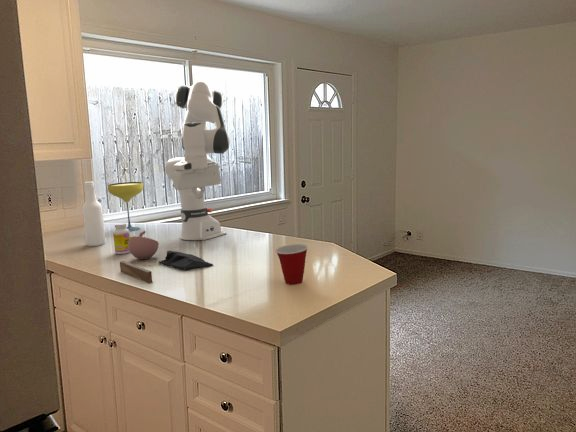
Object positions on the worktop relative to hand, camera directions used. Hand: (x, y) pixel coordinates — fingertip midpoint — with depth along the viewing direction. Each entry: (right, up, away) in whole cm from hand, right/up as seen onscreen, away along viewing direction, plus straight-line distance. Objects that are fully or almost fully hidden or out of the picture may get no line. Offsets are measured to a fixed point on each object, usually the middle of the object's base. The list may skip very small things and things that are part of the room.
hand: (199, 198), depth 196 cm
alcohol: (-56, -21, +39) cm, 71 cm away
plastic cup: (+37, -29, -33) cm, 57 cm away
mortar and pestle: (-24, -25, +7) cm, 35 cm away
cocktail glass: (-51, -15, +72) cm, 89 cm away
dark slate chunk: (-4, -26, -4) cm, 27 cm away
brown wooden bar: (-19, -29, -18) cm, 39 cm away
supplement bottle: (-37, -23, +20) cm, 48 cm away
